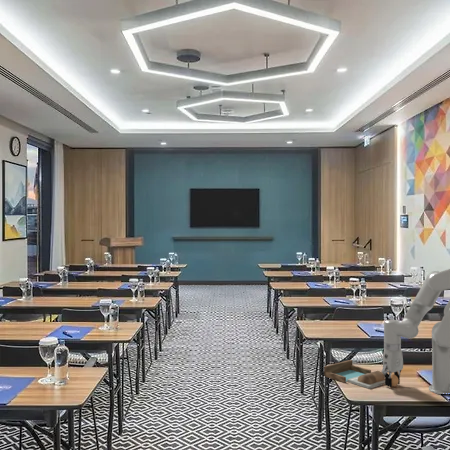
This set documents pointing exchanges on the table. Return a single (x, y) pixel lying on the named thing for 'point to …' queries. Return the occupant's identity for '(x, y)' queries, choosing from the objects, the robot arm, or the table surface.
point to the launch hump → (371, 377)
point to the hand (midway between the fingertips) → (392, 384)
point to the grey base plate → (354, 381)
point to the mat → (350, 374)
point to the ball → (394, 380)
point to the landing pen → (342, 370)
